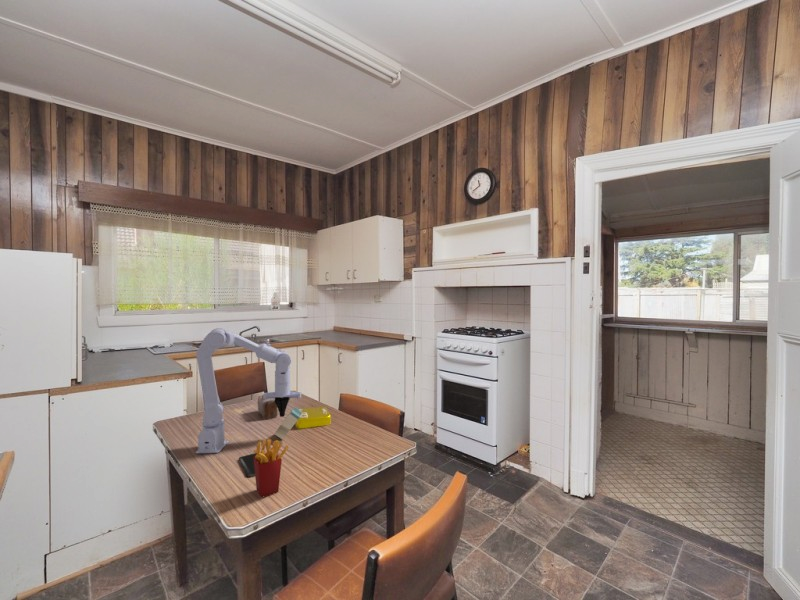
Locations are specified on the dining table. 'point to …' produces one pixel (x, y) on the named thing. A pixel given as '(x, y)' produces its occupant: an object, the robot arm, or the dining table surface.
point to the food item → (267, 407)
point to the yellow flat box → (313, 417)
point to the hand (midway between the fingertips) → (282, 415)
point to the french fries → (268, 467)
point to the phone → (248, 464)
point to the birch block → (288, 423)
